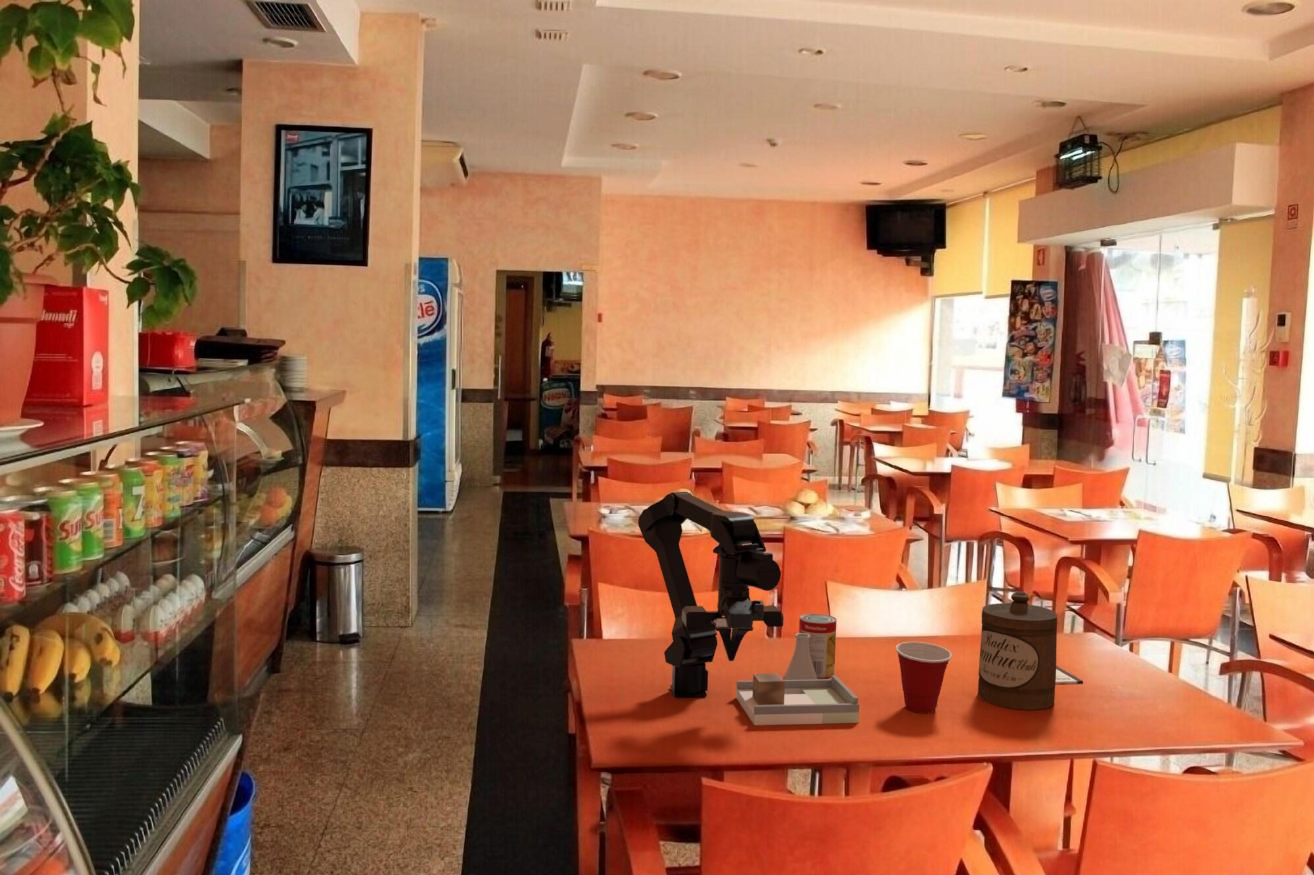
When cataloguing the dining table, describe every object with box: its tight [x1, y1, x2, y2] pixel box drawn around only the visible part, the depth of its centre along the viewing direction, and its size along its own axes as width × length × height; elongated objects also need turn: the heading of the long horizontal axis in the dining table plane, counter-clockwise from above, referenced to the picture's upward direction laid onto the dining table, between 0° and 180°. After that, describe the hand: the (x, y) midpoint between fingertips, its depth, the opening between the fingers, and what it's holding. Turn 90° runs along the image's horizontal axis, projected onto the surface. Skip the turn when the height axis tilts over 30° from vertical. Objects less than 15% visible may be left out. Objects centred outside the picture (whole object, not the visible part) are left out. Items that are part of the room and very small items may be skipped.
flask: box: [783, 632, 818, 680], centre depth 236 cm, size 7×7×10 cm
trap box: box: [735, 674, 860, 726], centre depth 217 cm, size 20×16×4 cm
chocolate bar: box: [1055, 665, 1084, 685], centre depth 248 cm, size 9×1×18 cm
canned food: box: [798, 613, 838, 679], centre depth 242 cm, size 8×8×12 cm
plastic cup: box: [895, 641, 953, 714], centre depth 219 cm, size 11×11×12 cm
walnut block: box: [752, 673, 785, 705], centre depth 216 cm, size 5×5×4 cm
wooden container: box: [977, 590, 1058, 711], centre depth 227 cm, size 15×15×22 cm
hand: (730, 660), depth 215 cm, fingers closed
